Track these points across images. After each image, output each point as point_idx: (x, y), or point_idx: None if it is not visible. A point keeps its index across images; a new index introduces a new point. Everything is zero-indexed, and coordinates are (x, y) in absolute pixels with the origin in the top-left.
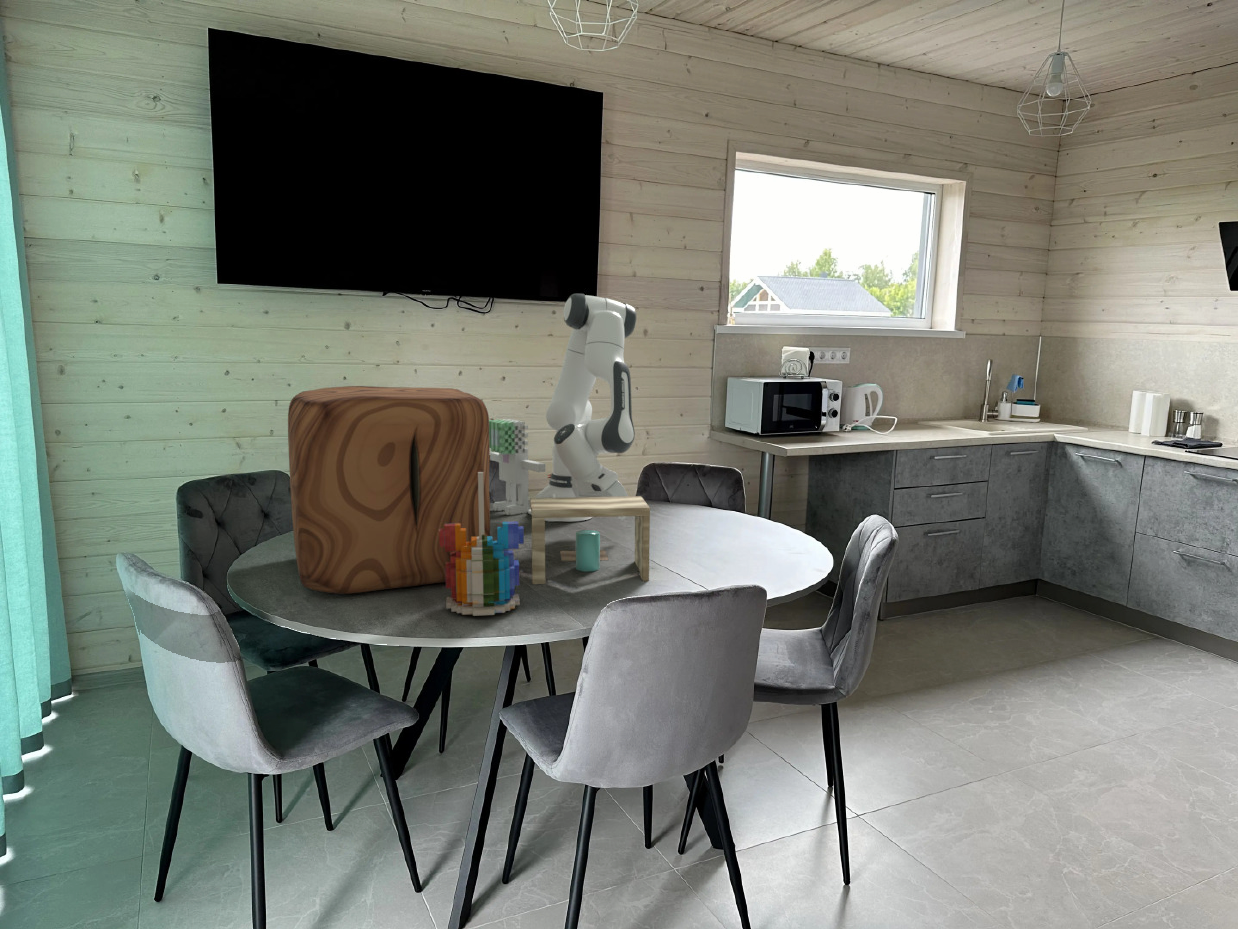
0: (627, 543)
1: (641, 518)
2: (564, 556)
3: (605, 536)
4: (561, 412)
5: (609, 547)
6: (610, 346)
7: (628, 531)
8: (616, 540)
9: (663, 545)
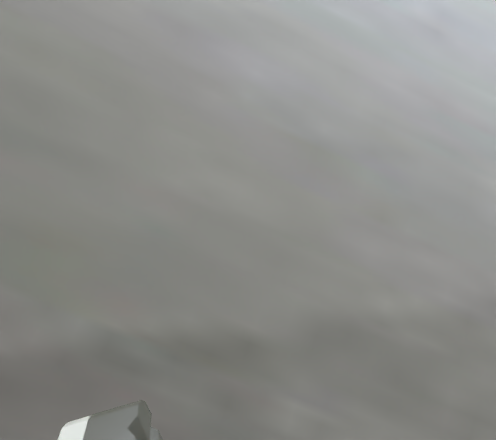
0: (373, 258)
1: None
2: None
3: (114, 334)
4: None
5: (446, 430)
6: None
7: (41, 107)
8: (267, 299)
9: (477, 74)
